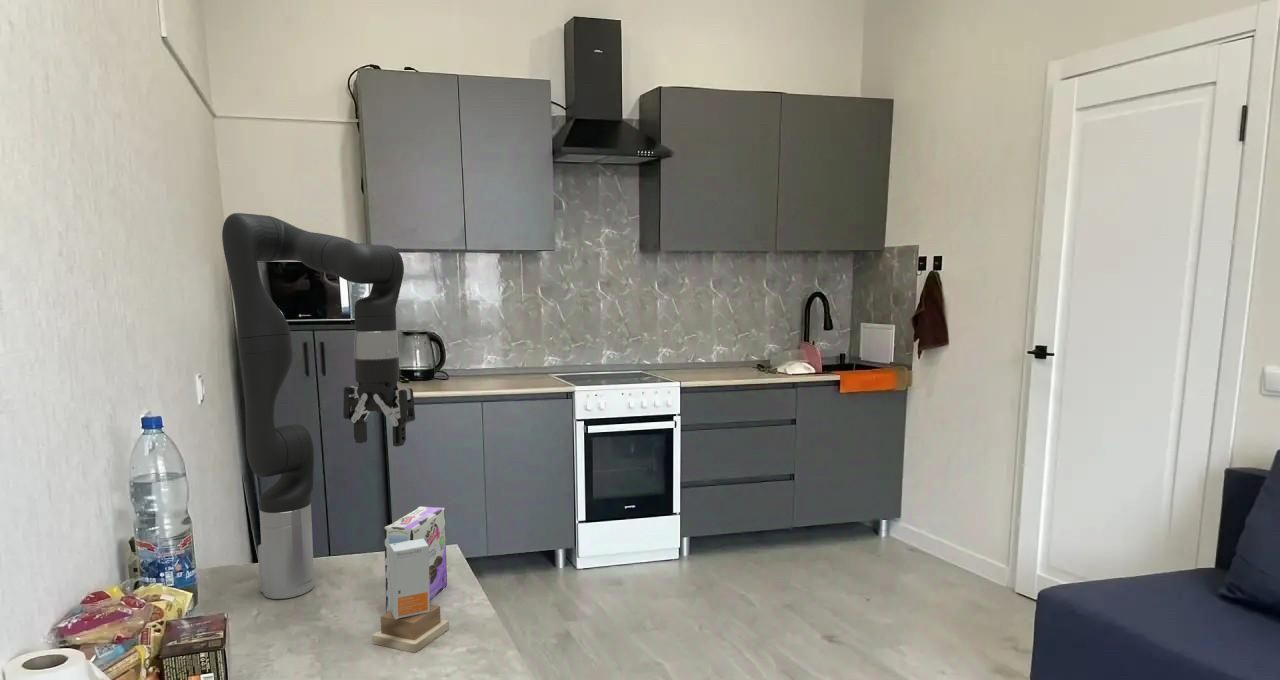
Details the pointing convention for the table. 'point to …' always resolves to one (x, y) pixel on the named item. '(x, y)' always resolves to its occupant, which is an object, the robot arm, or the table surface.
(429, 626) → the plinth
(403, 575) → the skincare box
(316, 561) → the table surface
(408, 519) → the candy box
